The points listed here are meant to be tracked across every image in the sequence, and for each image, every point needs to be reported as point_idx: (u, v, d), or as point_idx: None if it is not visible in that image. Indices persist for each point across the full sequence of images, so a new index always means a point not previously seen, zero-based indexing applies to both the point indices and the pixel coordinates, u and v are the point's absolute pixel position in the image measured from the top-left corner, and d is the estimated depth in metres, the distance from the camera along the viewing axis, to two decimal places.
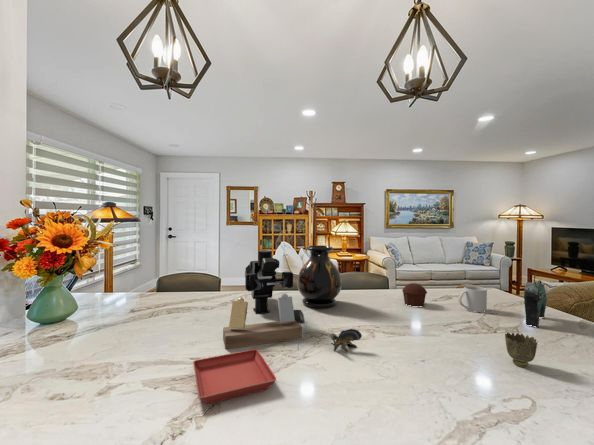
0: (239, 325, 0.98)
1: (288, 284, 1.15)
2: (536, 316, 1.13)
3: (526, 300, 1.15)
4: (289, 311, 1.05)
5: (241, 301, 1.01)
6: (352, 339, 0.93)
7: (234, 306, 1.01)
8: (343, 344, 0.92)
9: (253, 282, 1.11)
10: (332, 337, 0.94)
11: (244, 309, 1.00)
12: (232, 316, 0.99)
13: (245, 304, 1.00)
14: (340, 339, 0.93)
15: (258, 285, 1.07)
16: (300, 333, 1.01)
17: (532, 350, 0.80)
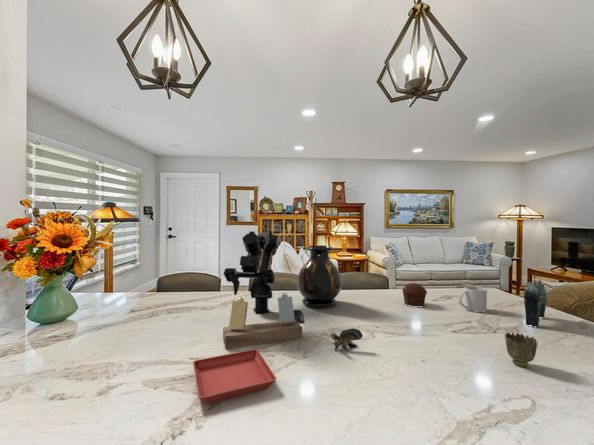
0: (239, 325, 0.98)
1: (265, 282, 1.11)
2: (536, 316, 1.13)
3: (526, 300, 1.15)
4: (289, 311, 1.05)
5: (241, 301, 1.01)
6: (353, 339, 0.94)
7: (234, 306, 1.01)
8: (344, 344, 0.93)
9: None
10: (333, 337, 0.95)
11: (244, 309, 1.00)
12: (232, 316, 0.99)
13: (245, 304, 1.00)
14: (341, 339, 0.93)
15: None
16: (300, 333, 1.01)
17: (532, 350, 0.80)
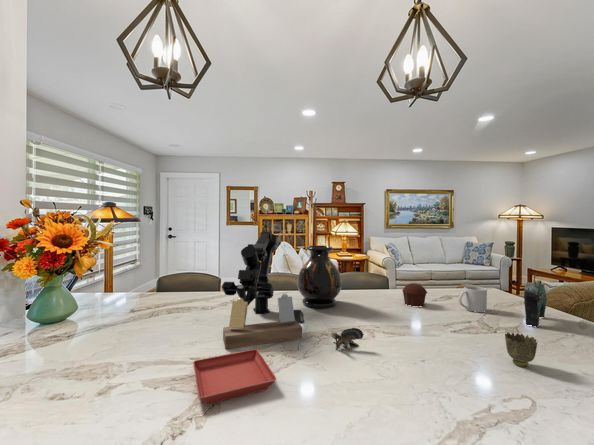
0: (239, 325, 0.98)
1: (254, 296, 1.10)
2: (536, 316, 1.13)
3: (526, 300, 1.15)
4: (289, 311, 1.05)
5: (241, 301, 1.01)
6: (354, 338, 0.94)
7: (234, 306, 1.01)
8: (345, 343, 0.93)
9: None
10: (334, 336, 0.95)
11: (244, 309, 1.00)
12: (232, 316, 0.99)
13: (245, 304, 1.00)
14: (342, 338, 0.94)
15: None
16: (300, 333, 1.01)
17: (532, 350, 0.80)
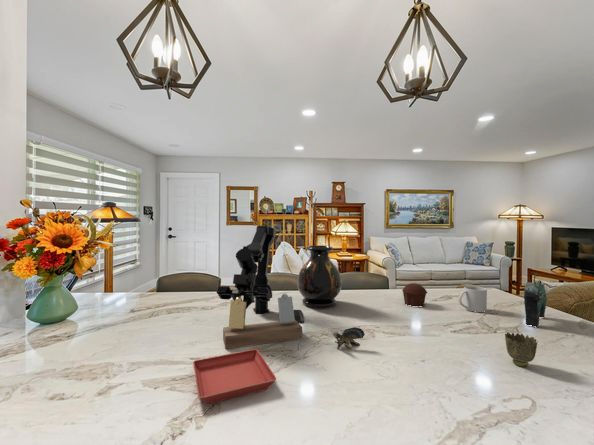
0: (239, 326, 0.97)
1: (251, 300, 1.05)
2: (536, 316, 1.13)
3: (526, 300, 1.15)
4: (289, 311, 1.05)
5: (239, 301, 0.99)
6: (355, 337, 0.95)
7: (232, 307, 0.99)
8: (346, 342, 0.94)
9: None
10: (335, 335, 0.96)
11: (243, 309, 0.98)
12: (231, 317, 0.98)
13: (243, 304, 0.99)
14: (343, 337, 0.94)
15: None
16: (300, 333, 1.01)
17: (532, 350, 0.80)
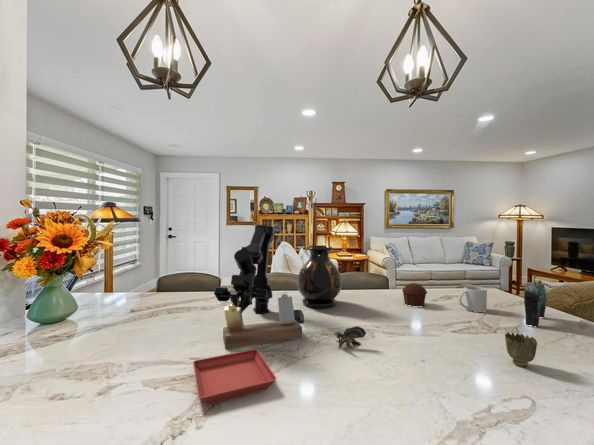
0: (238, 328, 0.97)
1: (249, 302, 1.03)
2: (536, 316, 1.13)
3: (526, 300, 1.15)
4: (289, 311, 1.05)
5: (233, 310, 0.93)
6: (356, 336, 0.95)
7: (227, 314, 0.94)
8: (348, 341, 0.94)
9: None
10: (337, 335, 0.96)
11: (238, 316, 0.94)
12: (228, 322, 0.96)
13: (238, 312, 0.93)
14: (345, 336, 0.95)
15: None
16: (300, 333, 1.01)
17: (532, 350, 0.80)
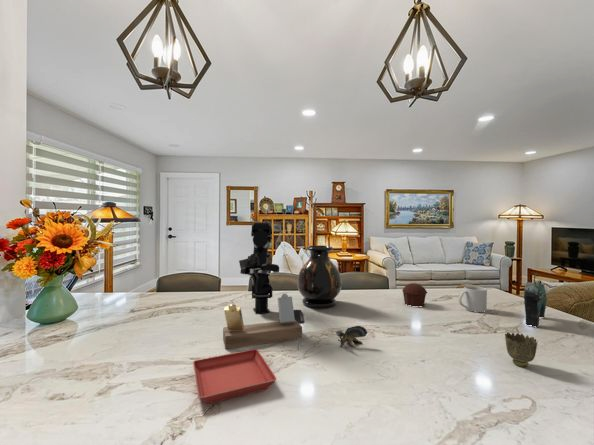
0: (238, 328, 0.97)
1: (266, 275, 1.14)
2: (536, 316, 1.13)
3: (526, 300, 1.15)
4: (289, 311, 1.05)
5: (233, 310, 0.93)
6: (358, 336, 0.96)
7: (227, 314, 0.94)
8: (349, 340, 0.95)
9: None
10: (338, 334, 0.97)
11: (238, 317, 0.94)
12: (228, 322, 0.96)
13: (238, 312, 0.93)
14: (346, 336, 0.95)
15: None
16: (300, 333, 1.01)
17: (532, 350, 0.80)
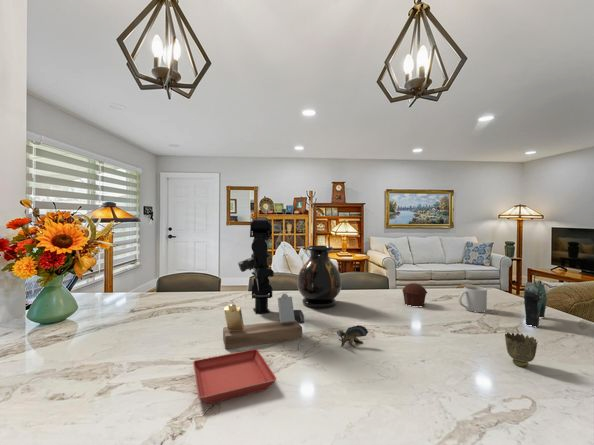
0: (238, 328, 0.97)
1: None
2: (536, 316, 1.13)
3: (526, 300, 1.15)
4: (289, 311, 1.05)
5: (233, 310, 0.93)
6: (359, 335, 0.96)
7: (227, 314, 0.94)
8: (350, 340, 0.95)
9: None
10: (339, 333, 0.97)
11: (238, 317, 0.94)
12: (228, 322, 0.96)
13: (238, 312, 0.93)
14: (347, 335, 0.96)
15: None
16: (300, 333, 1.01)
17: (532, 350, 0.80)
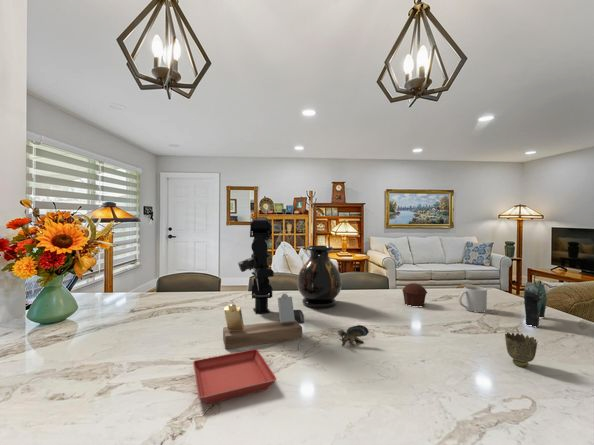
0: (238, 328, 0.97)
1: None
2: (536, 316, 1.13)
3: (526, 300, 1.15)
4: (289, 311, 1.05)
5: (233, 310, 0.93)
6: (359, 335, 0.97)
7: (227, 314, 0.94)
8: (351, 340, 0.96)
9: None
10: (340, 333, 0.98)
11: (238, 317, 0.94)
12: (228, 322, 0.96)
13: (238, 312, 0.93)
14: (348, 335, 0.96)
15: None
16: (300, 333, 1.01)
17: (532, 350, 0.80)
